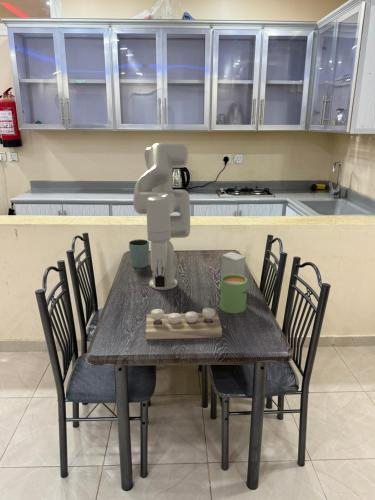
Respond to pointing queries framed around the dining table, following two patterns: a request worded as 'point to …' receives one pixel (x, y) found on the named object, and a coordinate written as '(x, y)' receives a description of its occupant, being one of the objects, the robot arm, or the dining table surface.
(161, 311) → the off-white oval piece
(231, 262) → the skincare box
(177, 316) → the white egg
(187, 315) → the white egg
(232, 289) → the mug
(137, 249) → the teal cup
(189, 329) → the board
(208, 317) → the egg
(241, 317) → the dining table surface
